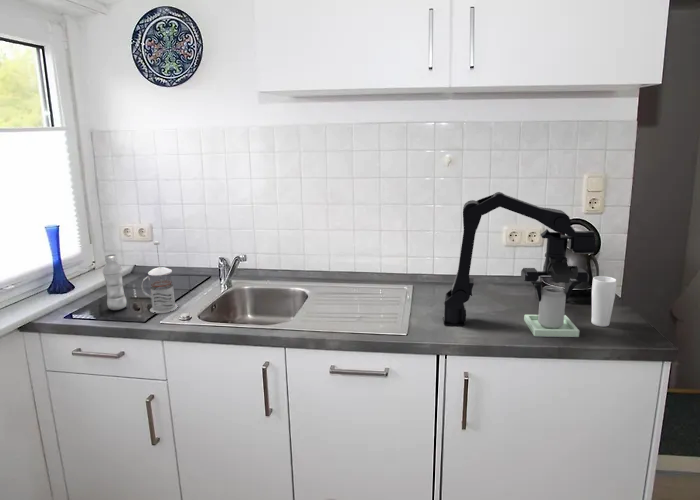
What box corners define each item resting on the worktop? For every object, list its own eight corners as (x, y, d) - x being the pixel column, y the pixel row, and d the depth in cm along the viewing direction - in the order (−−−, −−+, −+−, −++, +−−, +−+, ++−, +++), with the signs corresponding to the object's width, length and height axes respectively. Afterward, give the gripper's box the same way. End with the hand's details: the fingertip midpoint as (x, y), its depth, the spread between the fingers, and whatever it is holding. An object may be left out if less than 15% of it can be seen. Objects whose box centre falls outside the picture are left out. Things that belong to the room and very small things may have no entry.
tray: (534, 336, 157) (534, 330, 156) (524, 320, 169) (524, 314, 169) (578, 337, 155) (579, 330, 155) (565, 320, 168) (565, 315, 168)
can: (532, 322, 164) (535, 286, 161) (551, 319, 167) (554, 283, 164) (549, 331, 157) (552, 293, 154) (568, 327, 160) (572, 290, 157)
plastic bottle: (128, 304, 192) (121, 252, 187) (126, 311, 186) (119, 256, 181) (109, 307, 190) (101, 254, 185) (106, 313, 184) (99, 258, 179)
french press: (177, 311, 184) (169, 243, 178) (142, 315, 181) (133, 245, 175) (179, 302, 193) (172, 237, 187) (146, 305, 191) (138, 239, 185)
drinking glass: (583, 322, 167) (587, 277, 163) (599, 318, 169) (604, 274, 165) (600, 329, 160) (605, 283, 157) (617, 326, 163) (622, 280, 159)
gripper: (531, 259, 149) (527, 310, 153) (598, 259, 148) (593, 311, 152) (522, 249, 160) (518, 297, 164) (584, 250, 159) (579, 298, 162)
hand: (552, 301), depth 160 cm, fingers closed on can, 7 cm apart
